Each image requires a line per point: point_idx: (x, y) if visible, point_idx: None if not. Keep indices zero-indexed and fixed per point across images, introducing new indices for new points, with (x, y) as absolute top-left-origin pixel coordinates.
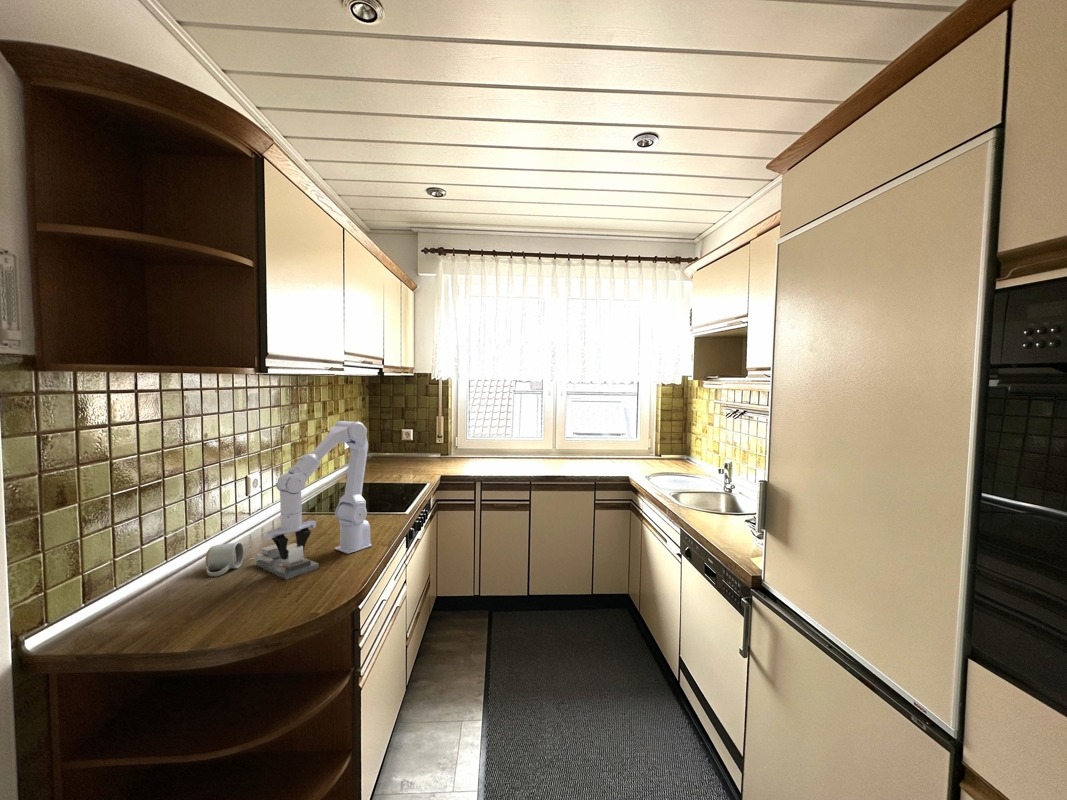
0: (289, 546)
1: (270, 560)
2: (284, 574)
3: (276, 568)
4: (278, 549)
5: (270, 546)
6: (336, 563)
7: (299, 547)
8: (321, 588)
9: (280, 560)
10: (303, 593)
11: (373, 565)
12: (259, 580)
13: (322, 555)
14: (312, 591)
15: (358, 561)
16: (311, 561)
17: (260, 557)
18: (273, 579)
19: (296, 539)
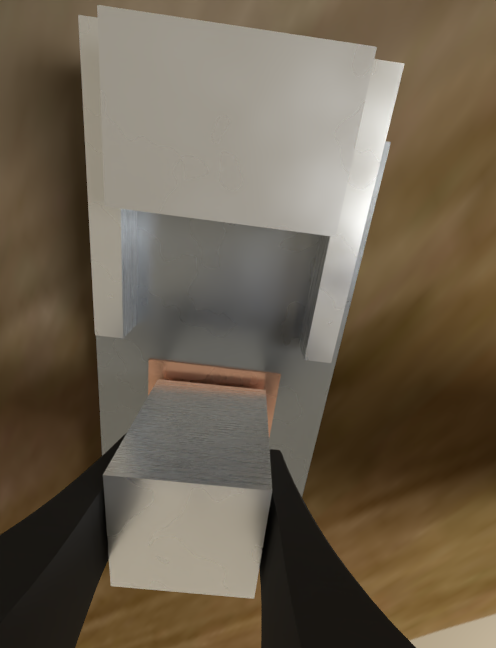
0: (172, 527)
1: (97, 329)
2: None
3: (113, 397)
4: (68, 491)
5: (205, 76)
6: (379, 520)
7: (219, 588)
8: (158, 629)
9: (209, 292)
10: (94, 614)
11: (415, 636)
12: (19, 383)
13: (462, 374)
14: (124, 623)
15: (437, 575)
16: (299, 475)
17: (91, 136)
18: (77, 431)
19: (282, 549)
